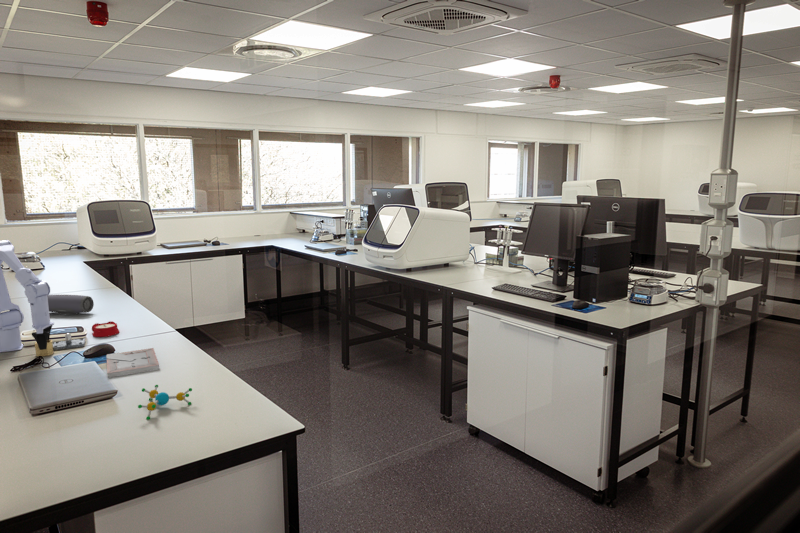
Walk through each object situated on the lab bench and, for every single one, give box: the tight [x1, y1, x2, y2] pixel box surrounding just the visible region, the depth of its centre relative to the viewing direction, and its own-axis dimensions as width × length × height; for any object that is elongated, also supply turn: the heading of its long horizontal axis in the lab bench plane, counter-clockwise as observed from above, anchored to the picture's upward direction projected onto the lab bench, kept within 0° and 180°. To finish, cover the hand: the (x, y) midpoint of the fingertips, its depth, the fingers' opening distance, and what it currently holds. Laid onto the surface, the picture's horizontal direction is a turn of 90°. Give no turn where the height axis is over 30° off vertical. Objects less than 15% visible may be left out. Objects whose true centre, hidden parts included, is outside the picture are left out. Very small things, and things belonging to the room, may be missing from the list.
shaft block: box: [53, 332, 86, 351], centre depth 212 cm, size 11×8×5 cm
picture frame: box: [105, 347, 160, 378], centre depth 192 cm, size 16×2×22 cm
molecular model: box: [137, 384, 193, 421], centre depth 157 cm, size 16×5×15 cm
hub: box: [34, 339, 55, 357], centre depth 202 cm, size 6×6×5 cm
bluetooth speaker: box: [47, 294, 95, 316], centre depth 261 cm, size 23×9×10 cm, turn 84°
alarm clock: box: [91, 320, 120, 338], centre depth 230 cm, size 10×6×15 cm
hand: (44, 346), depth 202 cm, fingers open, 7 cm apart
